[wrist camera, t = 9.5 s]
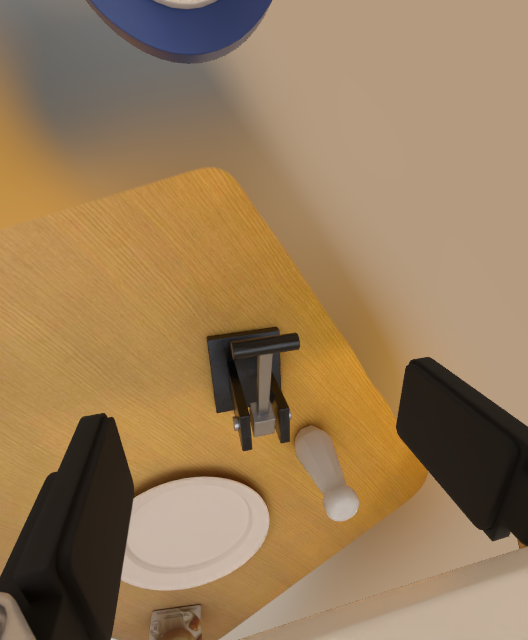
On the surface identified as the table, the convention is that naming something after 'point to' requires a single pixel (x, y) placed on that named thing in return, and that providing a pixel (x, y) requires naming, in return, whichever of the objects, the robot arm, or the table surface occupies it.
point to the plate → (192, 532)
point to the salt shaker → (326, 472)
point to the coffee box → (176, 624)
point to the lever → (263, 375)
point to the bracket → (245, 384)
